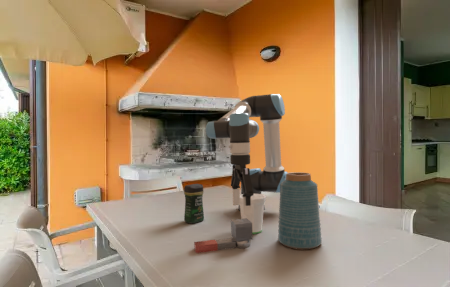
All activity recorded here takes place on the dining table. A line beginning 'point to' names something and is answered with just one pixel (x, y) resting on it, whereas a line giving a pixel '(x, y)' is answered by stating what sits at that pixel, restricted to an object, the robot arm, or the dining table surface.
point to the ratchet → (219, 245)
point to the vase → (299, 212)
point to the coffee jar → (193, 203)
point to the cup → (254, 212)
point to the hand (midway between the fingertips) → (241, 209)
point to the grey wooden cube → (241, 229)
